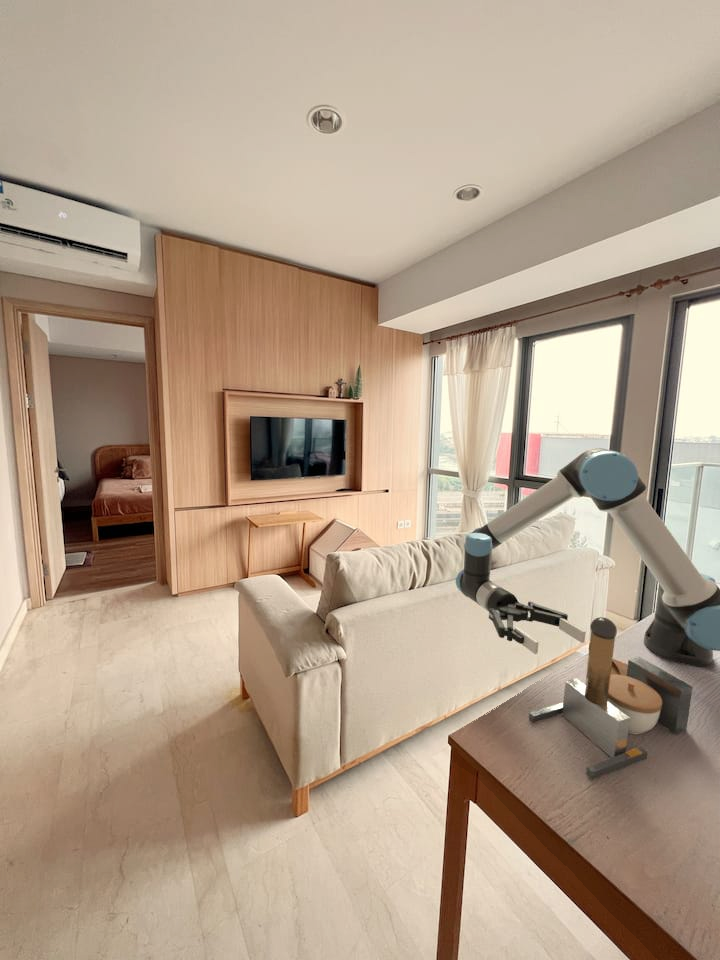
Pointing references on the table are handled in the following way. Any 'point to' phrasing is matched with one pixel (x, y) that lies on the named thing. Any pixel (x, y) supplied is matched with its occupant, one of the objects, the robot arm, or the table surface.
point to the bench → (671, 716)
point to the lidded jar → (635, 702)
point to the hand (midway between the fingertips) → (561, 642)
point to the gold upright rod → (597, 694)
